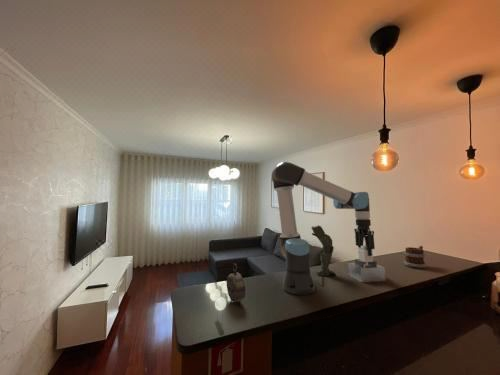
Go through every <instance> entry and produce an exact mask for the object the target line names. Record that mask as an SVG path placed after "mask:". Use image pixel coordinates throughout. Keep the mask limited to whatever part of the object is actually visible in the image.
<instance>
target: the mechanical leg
mask: <svg viewBox="0 0 500 375" xmlns="http://www.w3.org/2000/svg"><path fill="white" fill-rule="evenodd" d="M311 230H312V233H311V235H312V236H315V237H316V238H317V239H318V240H319V243H321V245H322V251H321V252H320V253H319V259H320V262H321V264H320V266H319V268H317V269H315V274H316V275H317V277H318V276H320V277H321V276H328V277H333V276H334V277H337V274H336V272H334V270H330V269H329V268H330V267H329V266H330V265H331V261H332V256H333V252H334V249H335V248H334V246H333V238H331V236H330V235H329V234H327V233H326V232H325V231H324V229H323V227H322V226H321V225H315V226H314V225H313V226H311Z"/></svg>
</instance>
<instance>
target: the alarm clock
mask: <svg viewBox="0 0 500 375" xmlns="http://www.w3.org/2000/svg"><path fill="white" fill-rule="evenodd" d="M232 269H233V273H230V274H229V275H228V276H227V278H226V291H227V295H228V298H229V299H230V302H229V304H230V305H231V303H232V302H233V303H237V302H239V304H240V308H241V307H243V304H242V301H244V300H245V298H246V285H245V281H244V278H243V276H242V274H241V273H239V272H238V265H237V263H234V264H233V266H232Z"/></svg>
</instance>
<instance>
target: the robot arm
mask: <svg viewBox="0 0 500 375" xmlns="http://www.w3.org/2000/svg"><path fill="white" fill-rule="evenodd" d="M271 181H272V183H273V190H274V191H276V194H277V195H276V196H277V202H278V211H279V220H280V229H281V234H280V235H279V241H280V243H279V251H280V254H282V256H283V257H284V258H285V275H284V278H283V281H282V289H283V291H284V292H287V293H288V294H293V295H298V296H299V295H300V296H306V295H310V294H312V293H315V284H314V281H313V278H312V275H311V259H310V258H311V256H310V245H309V244H310V243H309V242H308V240H306V239H302V237H301V233H299V232H298V230H297V229H298V228H297V221H296V220H297V219H296V213H295V205H294V197H293V189H294V188H295V186H301V187H304V188H306V189H308V190H310V191H313V192H315V193H318V194H320V195H322V196H324V197H326V198H329V199H332V200H333V201H332V202H333V207H334V208H335V209H338V210H344V209H345V210H350V209H351V210H354V215H355V216H354V217H355V226H357V228H354V234H355V235H354V237H355V246H357V247H358V249H361V246H364V242H365V244H366V247H367V249H366V260H367V262H372V253H373V250H375V249H376V248H375V237H374V234H375V231H374V230H371V228H370V227H371V225H372V222H371V211H370V210H371V209H370V208H371V207H370V197H369V196H370V195H369V193H368V192H367V191H355V192H354V191H351V190H349V189H346V188H344V187H342V186H340V185H337V184H335V183H332V182H330V181H328V180H326V179H324V178H321V177H319V176H317V175H314V174H311V172H308V171H306V169H305V168H303V167H301V166H299V165H296V164H294V163H293V162H289V161H282V162H280V163H278V164H277V165H276V167H275V168H274V169H273V170H272V172H271Z"/></svg>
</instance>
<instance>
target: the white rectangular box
mask: <svg viewBox="0 0 500 375" xmlns="http://www.w3.org/2000/svg"><path fill="white" fill-rule="evenodd" d="M347 263H348V264H347V265H348V276H349V277H351V278H353V279H355V280H357V281H359V282H360V283H370V282H373V283H374V282H384V281H386V270H385V267H384V266H382V265H379V264H378V263H377V261H376V260H374V259H373V262H363V261H360V260H359V259H354V262H347Z"/></svg>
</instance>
